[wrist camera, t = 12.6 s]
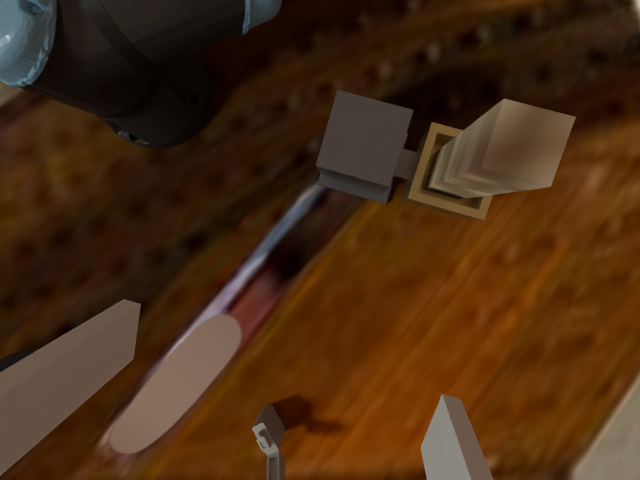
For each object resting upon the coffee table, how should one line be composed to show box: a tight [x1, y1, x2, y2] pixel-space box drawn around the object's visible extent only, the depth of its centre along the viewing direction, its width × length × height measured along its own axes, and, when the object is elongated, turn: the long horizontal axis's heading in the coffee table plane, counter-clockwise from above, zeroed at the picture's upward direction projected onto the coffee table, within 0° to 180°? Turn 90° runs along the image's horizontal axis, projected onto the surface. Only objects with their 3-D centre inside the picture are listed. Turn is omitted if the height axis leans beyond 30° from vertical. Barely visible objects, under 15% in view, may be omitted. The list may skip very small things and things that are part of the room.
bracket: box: [316, 90, 493, 220], centre depth 37 cm, size 18×9×13 cm, turn 74°
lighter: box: [252, 404, 285, 480], centre depth 44 cm, size 7×2×8 cm, turn 30°
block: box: [423, 99, 576, 199], centre depth 29 cm, size 4×4×18 cm
